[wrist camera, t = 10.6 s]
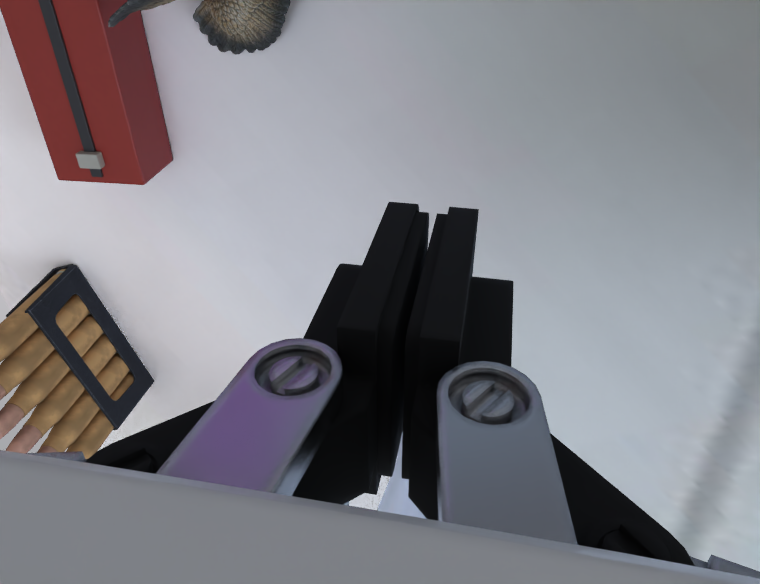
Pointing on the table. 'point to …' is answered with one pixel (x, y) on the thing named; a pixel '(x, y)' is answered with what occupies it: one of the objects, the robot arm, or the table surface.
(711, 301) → the table surface
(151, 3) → the eagle figurine
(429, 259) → the robot arm
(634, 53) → the table surface
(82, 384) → the ammunition clip
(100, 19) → the pencil case
